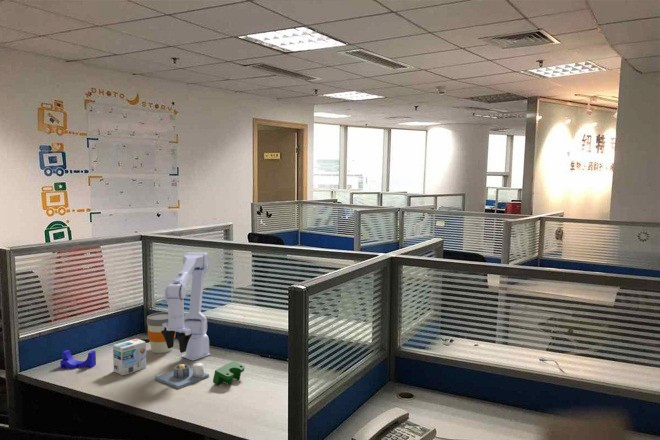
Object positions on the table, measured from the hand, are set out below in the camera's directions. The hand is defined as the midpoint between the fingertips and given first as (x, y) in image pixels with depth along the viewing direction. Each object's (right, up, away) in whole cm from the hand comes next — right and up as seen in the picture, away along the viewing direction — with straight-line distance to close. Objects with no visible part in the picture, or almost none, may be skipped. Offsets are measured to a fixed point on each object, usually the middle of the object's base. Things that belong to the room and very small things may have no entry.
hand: (176, 349), depth 199 cm
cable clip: (-41, -9, +8) cm, 43 cm away
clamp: (+21, -11, -5) cm, 24 cm away
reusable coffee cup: (-15, -7, +29) cm, 33 cm away
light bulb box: (-20, -9, +5) cm, 23 cm away
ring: (+3, -9, -3) cm, 10 cm away
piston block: (+3, -10, -3) cm, 11 cm away
